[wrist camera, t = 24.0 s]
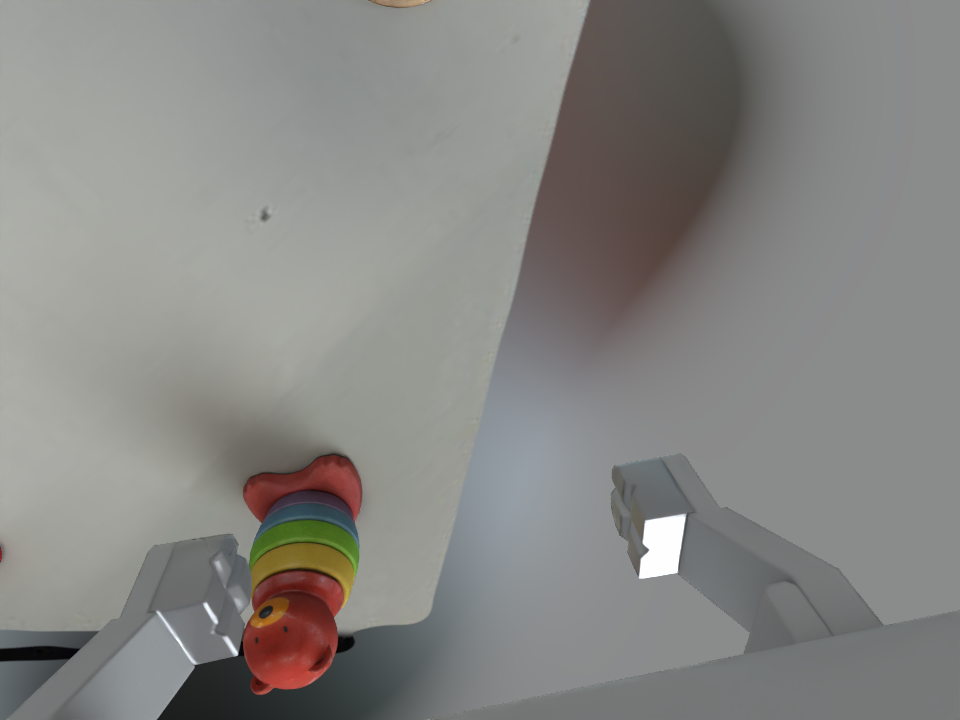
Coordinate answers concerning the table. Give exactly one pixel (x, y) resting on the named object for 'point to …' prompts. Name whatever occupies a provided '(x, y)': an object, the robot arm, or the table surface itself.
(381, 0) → the coaster
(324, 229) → the table surface
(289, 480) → the stacking bear
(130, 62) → the table surface
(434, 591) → the table surface
